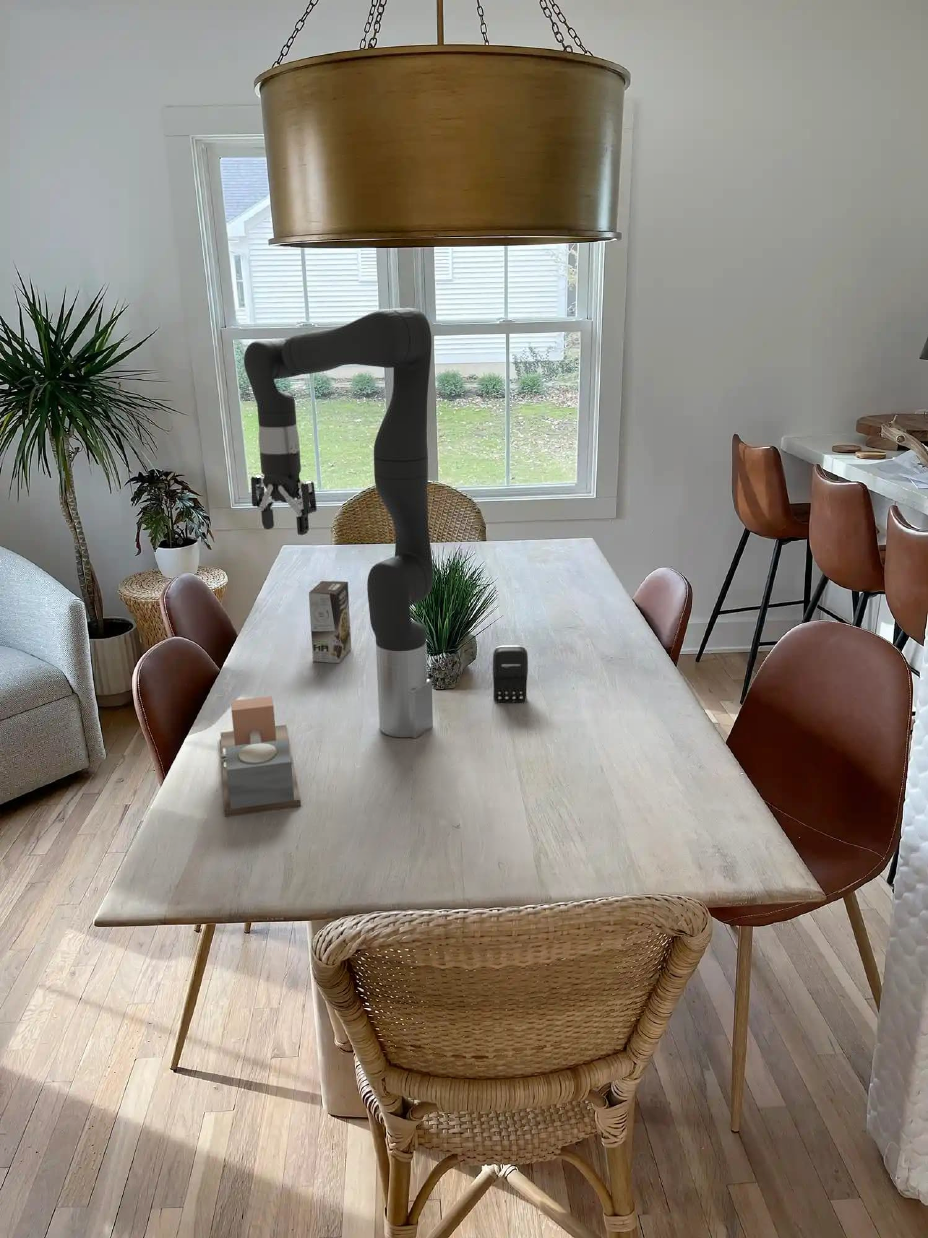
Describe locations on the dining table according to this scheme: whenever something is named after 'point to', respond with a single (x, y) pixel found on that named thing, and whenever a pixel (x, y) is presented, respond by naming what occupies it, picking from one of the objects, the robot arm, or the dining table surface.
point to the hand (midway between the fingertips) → (285, 531)
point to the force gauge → (258, 775)
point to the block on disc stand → (253, 721)
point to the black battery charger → (510, 674)
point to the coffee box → (330, 621)
